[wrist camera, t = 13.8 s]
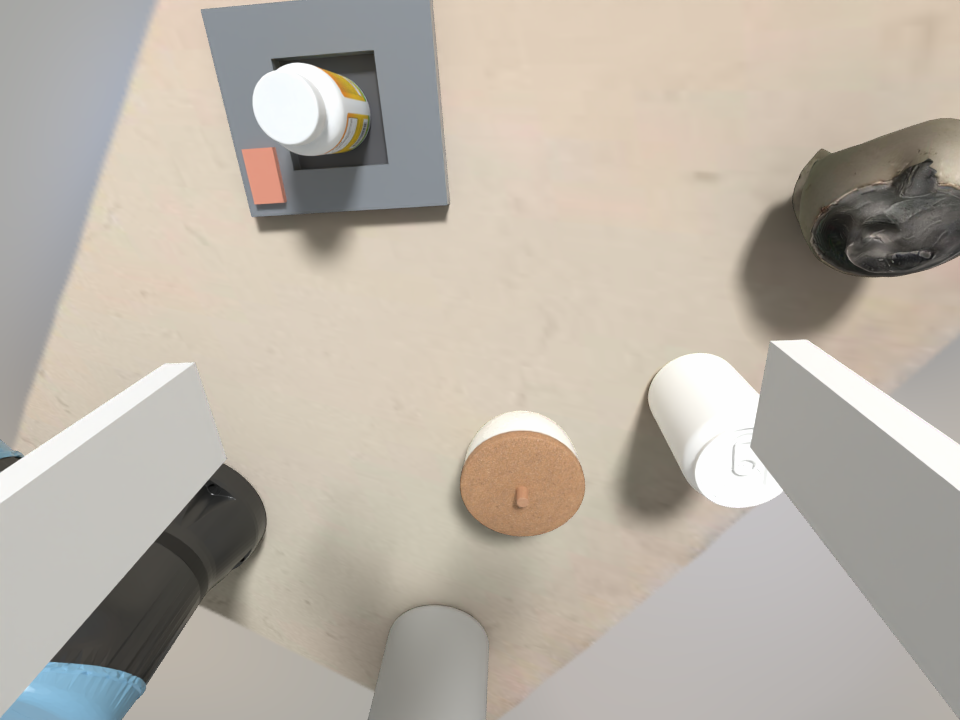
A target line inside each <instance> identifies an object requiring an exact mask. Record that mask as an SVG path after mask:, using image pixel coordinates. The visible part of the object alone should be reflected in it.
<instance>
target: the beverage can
mask: <svg viewBox="0 0 960 720" xmlns="http://www.w3.org/2000/svg"><path fill="white" fill-rule="evenodd" d="M759 397H760V395H759V394H758V393H757V392H756V391H755V390H754V389H753V388H752V387H751V386H750V385H749V384H748V382H747V381H746V380H745V379H744V378H743V377H742V376H741V375H740V374H739V373H738V372H737V371H736V370H735V369H734V368H733V367H732V366H731V365H730V364H729V363H728V362H727V361H725V360H724V359H722V358H720V357H718V356H715V355H712V354H706V353H694V354H688V355H684V356H681V357H679V358H676V359H674V360H673V361H671V362H669V363H668V364H666V365H665V366H664V367H663V368H662V369H661V370H660V371H659V372H658V373H657V374H656V376H655V377H654V379H653V381H652V383H651V385H650V388H649V393H648V402H649V407H650V410H651V412H652V414H653V416H654V418H655V420H656V422H657V424H658V426H659V428H660V430H661V431H662V433H663V435H664V437H665V439H666V441H667V443H668V445H669V447H670V449H671V451H672V453H673V455H674V457H675V459H676V461H677V463H678V465H679V467H680V469H681V471H682V473H683V475H684V476H685V478H686V480H687V481H688V483H689V484H690V485H691V486H692V487H693V488H694V489H695V490H696V491H697V492H699V493H700V494H702V495H704V496H705V497H706V498H707V499H709V500H710V501H712V502H714V503H716V504H719V505H722V506H726V507H732V508H745V507H751V506H756V505H759V504H762V503H765V502H767V501H769V500H771V499H773V498H775V497H776V496H777V495H779V494H780V493H782V492H783V490H782V488H781V487H780V486H779V484H778V483H777V482H776V480H775V479H774V478H773V477H772V475H771V474H770V473H769V471H768V470H767V469H766V467H765V466H764V465H763V464H762V462H761V461H760V460H759V458H758V457H757V456H756V454H755V453H754V452H753V451H752V449H751V448H750V444H751V439H752V434H753V428H754V423H755V418H756V412H757V407H758V402H759Z"/></svg>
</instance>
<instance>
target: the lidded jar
mask: <svg viewBox="0 0 960 720" xmlns="http://www.w3.org/2000/svg"><path fill="white" fill-rule="evenodd" d="M460 491H461V496H462V499H463V502H464V504H465V506H466V508H467V509H468V511H469V512H470V513H471V514H472V516H473V517H474V518H475V519H477V520H478V521H479V522H480V523H481V524H483V525H485V526H486V527H488V528H490V529H492V530H494V531H496V532H499V533H503V534H507V535H512V536H534V535H539V534H543V533H547V532H550V531H552V530H554V529H556V528H558V527H560V526H561V525H563V524H564V523H566V522H567V521H568V520H569V519H570V518H571V517H572V516H573V515H574V514H575V513H576V511H577V510H578V508H579V507H580V505H581V503H582V500H583V497H584V493H585V479H584V474H583V471H582V467H581V465H580V463H579V459H578V456H577V453H576V450H575V448H574V446H573V444H572V442H571V440H570V439H569V437H568V436H567V434H566V433H565V432H564V430H563V429H562V428H561V427H560V426H559V425H558V424H556V423H555V422H554V421H552V420H551V419H549V418H548V417H546V416H544V415H541V414H538V413H535V412H530V411H511V412H507V413H503V414H501V415H498V416H496V417H494V418H492V419H491V420H489V421H488V422H487V423H486V424H484V425H483V426H482V427H481V428H480V430H479V431H478V432H477V433H476V435H475V436H474V438H473V440H472V441H471V443H470V446H469V448H468V451H467V454H466V457H465V462H464V466H463V469H462V474H461V479H460Z"/></svg>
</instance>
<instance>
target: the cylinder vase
mask: <svg viewBox="0 0 960 720" xmlns="http://www.w3.org/2000/svg"><path fill="white" fill-rule="evenodd" d="M488 656H489V641H488V637H487V634H486V632H485V630H484V628H483V627H482V626H481V624H480V623H479V622H478V621H477V620H476V619H475V618H473V617H472V616H470V615H469V614H467V613H465V612H463V611H461V610H459V609H456V608H453V607H449V606H443V605H426V606H420V607H416V608H413V609H411V610H409V611H407V612H405V613H403V614H402V615H401V616H399V617H398V618H397V619H396V621H395V622H394V623H393V625H392V626H391V629H390V631H389V635H388V639H387V643H386V647H385V651H384V655H383V660H382V664H381V668H380V672H379V676H378V680H377V684H376V688H375V692H374V697H373V701H372V705H371V709H370V713H369V717H368V720H486V705H487V681H488Z"/></svg>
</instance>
